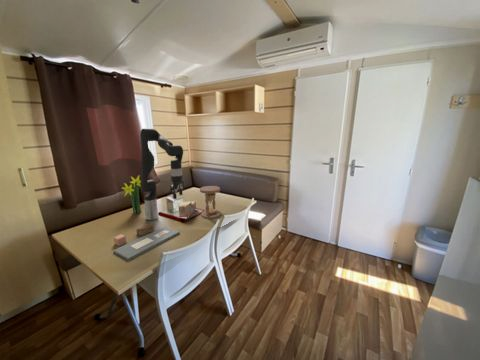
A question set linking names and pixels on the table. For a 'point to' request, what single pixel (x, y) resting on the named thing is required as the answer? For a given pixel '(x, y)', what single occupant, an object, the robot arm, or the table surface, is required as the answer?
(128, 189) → the daffodil flowers
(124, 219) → the table surface
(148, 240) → the board
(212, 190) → the hourglass
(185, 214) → the stack of blocks
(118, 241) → the terracotta cube
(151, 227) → the walnut brick
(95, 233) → the table surface
